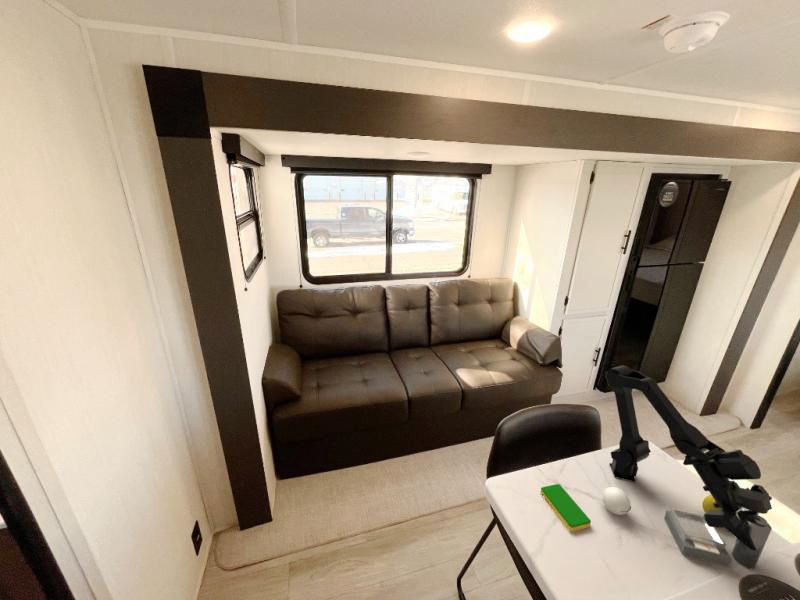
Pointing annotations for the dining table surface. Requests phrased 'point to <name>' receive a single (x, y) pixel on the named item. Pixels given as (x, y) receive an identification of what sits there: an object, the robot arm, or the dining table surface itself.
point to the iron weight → (759, 536)
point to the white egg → (616, 501)
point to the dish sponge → (565, 507)
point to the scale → (697, 537)
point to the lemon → (709, 504)
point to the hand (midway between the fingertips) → (758, 546)
